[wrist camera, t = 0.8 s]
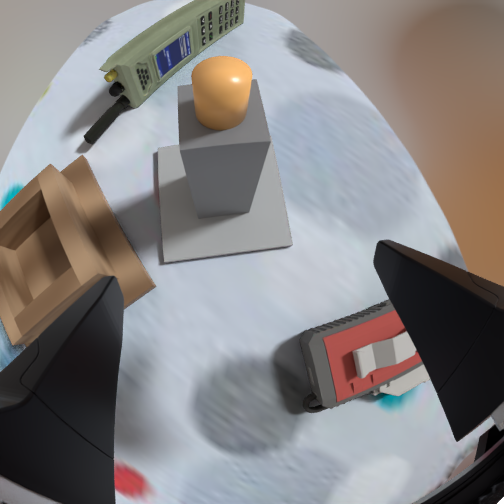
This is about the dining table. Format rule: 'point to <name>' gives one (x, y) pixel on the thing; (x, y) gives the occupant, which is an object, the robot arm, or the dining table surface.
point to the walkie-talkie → (360, 358)
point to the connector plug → (222, 136)
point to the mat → (220, 227)
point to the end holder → (60, 250)
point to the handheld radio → (164, 53)
